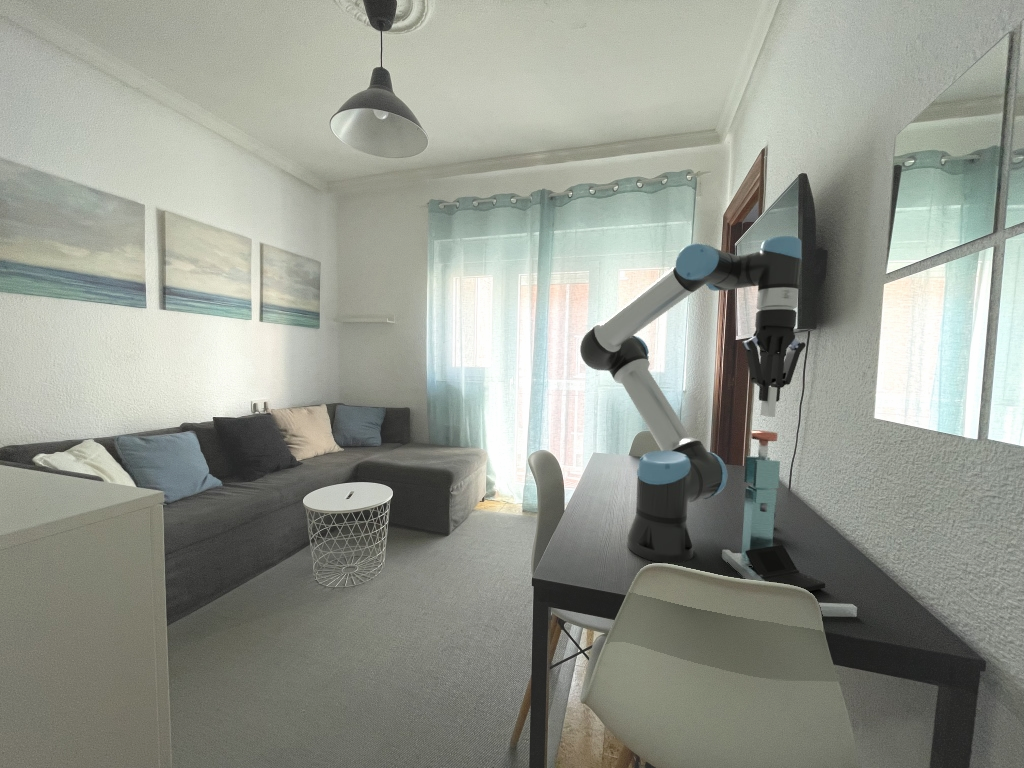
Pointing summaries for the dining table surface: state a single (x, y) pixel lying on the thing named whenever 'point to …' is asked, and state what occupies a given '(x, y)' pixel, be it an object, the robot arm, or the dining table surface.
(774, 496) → the frame
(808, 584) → the handheld gaming console
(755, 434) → the plunger
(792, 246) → the robot arm
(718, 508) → the dining table surface
